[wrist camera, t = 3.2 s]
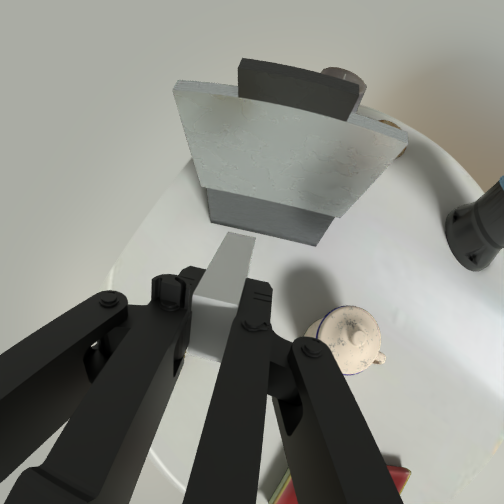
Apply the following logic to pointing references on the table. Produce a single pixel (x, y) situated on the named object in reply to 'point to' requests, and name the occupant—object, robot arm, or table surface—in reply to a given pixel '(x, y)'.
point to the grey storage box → (267, 217)
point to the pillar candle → (348, 77)
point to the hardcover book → (286, 499)
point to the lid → (285, 137)
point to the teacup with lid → (350, 338)
